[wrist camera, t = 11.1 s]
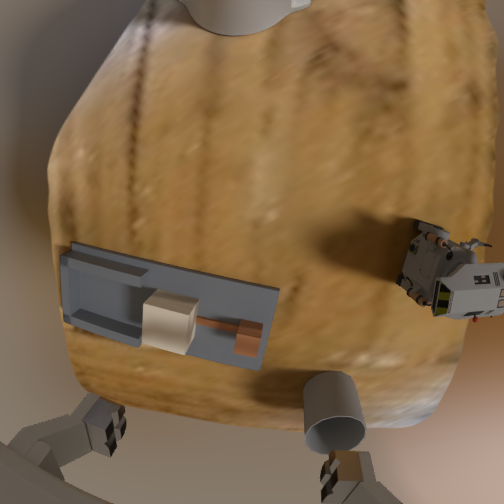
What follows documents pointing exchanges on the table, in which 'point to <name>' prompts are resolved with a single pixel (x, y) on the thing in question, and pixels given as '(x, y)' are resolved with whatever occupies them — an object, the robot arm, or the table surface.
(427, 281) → the figurine
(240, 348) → the block
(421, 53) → the table surface
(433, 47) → the table surface
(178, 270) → the grey slider tray
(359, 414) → the cup
